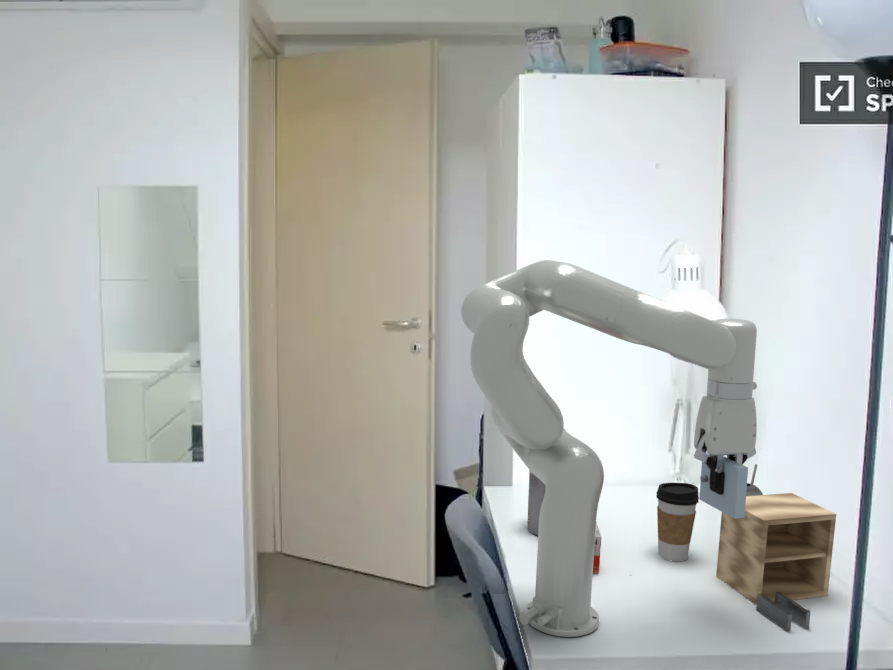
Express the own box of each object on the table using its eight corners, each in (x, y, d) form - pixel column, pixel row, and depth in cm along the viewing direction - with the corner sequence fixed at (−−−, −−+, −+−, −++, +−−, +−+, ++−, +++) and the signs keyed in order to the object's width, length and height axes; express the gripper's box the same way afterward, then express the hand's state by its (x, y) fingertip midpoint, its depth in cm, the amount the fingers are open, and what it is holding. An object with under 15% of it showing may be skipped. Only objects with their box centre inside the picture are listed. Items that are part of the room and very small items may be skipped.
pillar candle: (569, 523, 186) (572, 459, 184) (571, 540, 176) (574, 472, 174) (526, 521, 187) (529, 457, 185) (526, 537, 177) (529, 470, 175)
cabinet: (827, 595, 154) (836, 514, 152) (755, 604, 149) (763, 520, 147) (784, 569, 165) (791, 492, 163) (716, 576, 160) (722, 498, 158)
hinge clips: (808, 628, 141) (810, 612, 140) (786, 631, 139) (788, 614, 139) (777, 607, 148) (779, 591, 148) (756, 609, 147) (757, 594, 147)
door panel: (744, 517, 141) (748, 467, 140) (730, 519, 140) (734, 468, 139) (708, 498, 151) (711, 451, 149) (695, 499, 150) (698, 452, 148)
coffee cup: (695, 566, 165) (701, 494, 163) (652, 561, 167) (658, 490, 164) (692, 550, 173) (697, 482, 171) (651, 545, 175) (656, 478, 173)
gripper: (753, 383, 148) (746, 481, 151) (677, 388, 143) (672, 488, 146) (782, 392, 141) (774, 494, 144) (704, 397, 136) (697, 502, 139)
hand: (722, 490), depth 145 cm, fingers closed on door panel, 2 cm apart
